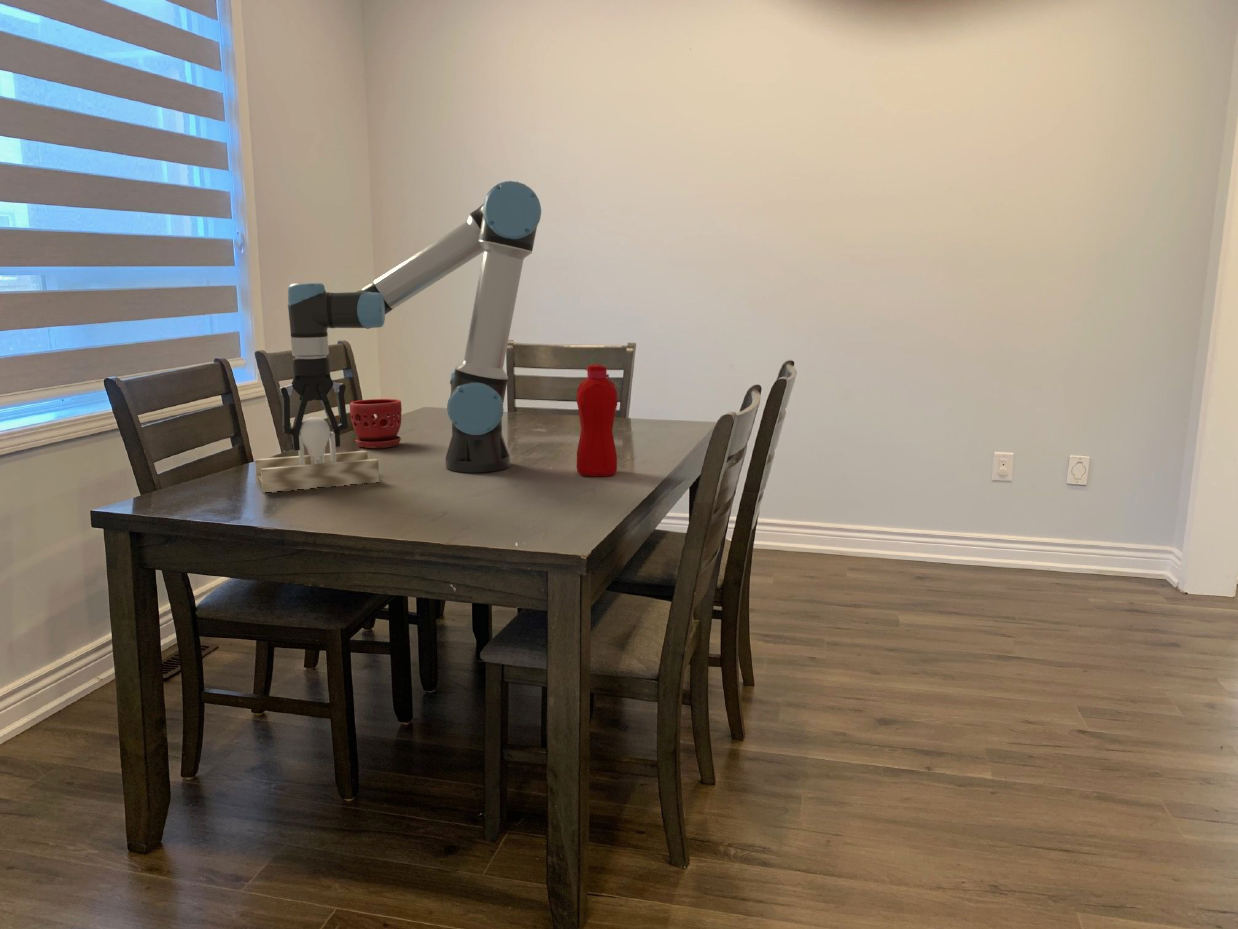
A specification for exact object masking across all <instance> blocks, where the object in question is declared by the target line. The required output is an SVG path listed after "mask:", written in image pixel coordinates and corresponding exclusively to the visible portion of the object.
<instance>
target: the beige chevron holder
mask: <svg viewBox="0 0 1238 929" xmlns="http://www.w3.org/2000/svg"><path fill="white" fill-rule="evenodd" d="M304 459H305V465H300V464H299V455H296V456H295V455H293V456H279V457H269V458H267V457H266V458H256V459H254V471H255V482H256V481H257V482H256V484H257V483H258V484H259V486H260V487H259V486H258V487H259V489H260V488H261V489H260V490H261V492H262V491H263V492H264V493H263V492H262V493H263V494H266V493H265V492H272V493H278V492H277V491H283V492H292V491H291V490H294V491H298V490H297V489H304V490H311V489H310V488H315V489H318V488H317V487H325V488H332V487H331V486H336V487H344V485H347V486H351V485H350V484H357V485H365V484H364V483H368V484H375V483H376V482H379V483H380V468H379V465H380V464H379V459H378V458H372V459H371V458H369V459H368V451H367V450H357V451H343V452H336V461H337V462H331V458H330V452H329V453H325V454H324V459H325V460H324V461H325V462H324V463H320V464H311V460H310V459H311V457H310V456H309V454H307V455H306V454H304ZM362 483H363V484H362ZM258 484H257V485H258Z"/></svg>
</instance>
